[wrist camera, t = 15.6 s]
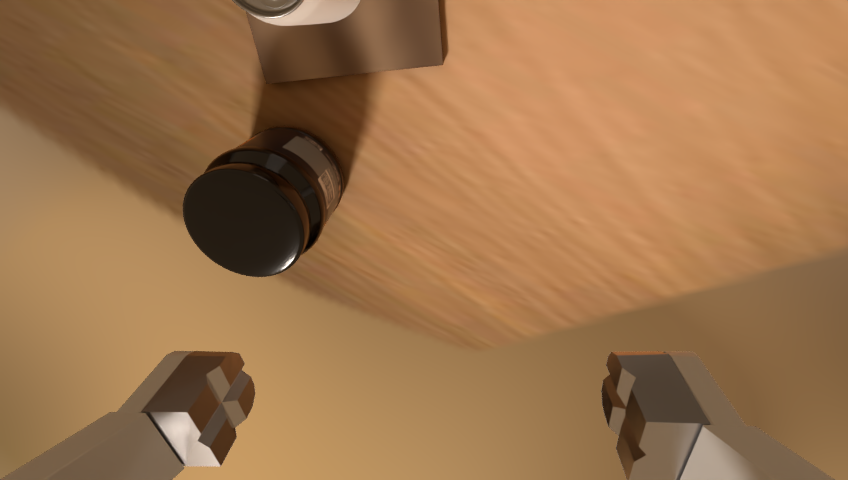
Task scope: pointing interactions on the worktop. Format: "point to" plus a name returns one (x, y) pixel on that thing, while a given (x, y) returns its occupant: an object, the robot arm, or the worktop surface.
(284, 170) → the supplement container
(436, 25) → the walnut board
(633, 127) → the worktop surface
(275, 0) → the can
